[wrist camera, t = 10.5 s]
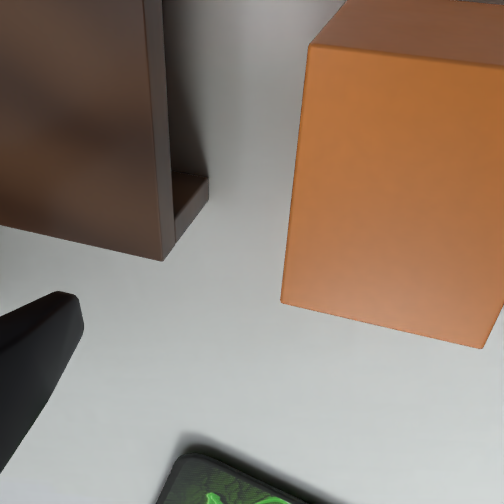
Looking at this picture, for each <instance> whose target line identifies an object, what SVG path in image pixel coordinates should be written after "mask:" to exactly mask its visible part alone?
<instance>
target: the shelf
mask: <svg viewBox="0 0 504 504" xmlns="http://www.w3.org/2000/svg"><path fill="white" fill-rule="evenodd" d="M208 200H209V190H208V178H207V177H202V176H197V175H191V174H186V173H180V172H175V171H171V160H170V142H169V125H168V107H167V89H166V71H165V53H164V35H163V17H162V0H0V225H2V226H7V227H11V228H16V229H20V230H24V231H29V232H33V233H38V234H42V235H47V236H51V237H55V238H60V239H64V240H69V241H73V242H78V243H82V244H86V245H91V246H95V247H100V248H104V249H109V250H113V251H117V252H122V253H126V254H131V255H135V256H140V257H144V258H148V259H153V260H157V261H164V259H165V258H166V257H167V255H168V254H169V253H170V251H171V250H172V249H173V247H174V246H175V244H176V243H177V241H178V240H179V239H180V237H181V236H182V235H183V233H184V232H185V231H186V229H187V228H188V227H189V225H190V224H191V223H192V221H193V220H194V219H195V217H196V216H197V215H198V213H199V212H200V211H201V209H202V208H203V207H204V205H205V204H206V203H207V201H208Z"/></svg>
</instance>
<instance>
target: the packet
mask: <svg viewBox="0 0 504 504" xmlns="http://www.w3.org/2000/svg"><path fill="white" fill-rule="evenodd" d="M280 301H281V303H283V304H287V305H292V306H296V307H300V308H305V309H309V310H313V311H318V312H322V313H326V314H331V315H335V316H339V317H344V318H348V319H352V320H357V321H361V322H365V323H369V324H374V325H378V326H382V327H387V328H391V329H395V330H400V331H404V332H408V333H413V334H417V335H421V336H426V337H430V338H434V339H439V340H443V341H447V342H452V343H456V344H460V345H465V346H469V347H473V348H478V349H482V348H483V347H484V345H485V343H486V341H487V339H488V336H489V334H490V332H491V330H492V328H493V326H494V324H495V322H496V320H497V318H498V316H499V313H500V311H501V309H502V307H503V305H504V5H498V4H487V3H477V2H466V1H456V0H347V1H346V2H345V3H344V5H343V6H342V7H341V8H340V9H339V10H338V12H337V13H336V14H335V15H334V16H333V17H332V18H331V20H330V21H329V22H328V23H327V24H326V25H325V27H324V28H323V29H322V30H321V31H320V32H319V33H318V35H317V36H316V37H315V38H314V39H313V40H312V42H311V43H310V44H309V46H308V53H307V62H306V71H305V80H304V89H303V98H302V107H301V116H300V125H299V134H298V143H297V152H296V161H295V170H294V180H293V189H292V198H291V207H290V216H289V225H288V234H287V243H286V252H285V261H284V270H283V279H282V288H281V297H280Z"/></svg>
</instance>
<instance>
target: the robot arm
mask: <svg viewBox="0 0 504 504" xmlns="http://www.w3.org/2000/svg"><path fill="white" fill-rule="evenodd" d="M83 331H84V322H83V317H82V312H81V308H80V303H79V299H78V298H77V297H76V295H74V294H70V293H65V292H61V291H55V292H52V293H50V294H48V295H46V296H44V297H42V298H39V299H37V300H35V301H33V302H31V303H29V304H27V305H24V306H22V307H20V308H18V309H16V310H14V311H11V312H9V313H7V314H5V315H3V316H1V317H0V473H1V472H2V470H3V469H4V467H5V466H6V464H7V463H8V461H9V460H10V458H11V457H12V455H13V454H14V452H15V451H16V449H17V448H18V446H19V445H20V443H21V442H22V440H23V439H24V437H25V435H26V434H27V432H28V431H29V429H30V428H31V426H32V425H33V423H34V422H35V420H36V419H37V417H38V416H39V414H40V413H41V411H42V410H43V408H44V406H45V405H46V403H47V402H48V400H49V398H50V396H51V394H52V393H53V391H54V389H55V387H56V385H57V383H58V381H59V379H60V377H61V375H62V374H63V372H64V370H65V368H66V366H67V364H68V362H69V360H70V358H71V356H72V354H73V352H74V351H75V349H76V347H77V345H78V343H79V341H80V339H81V337H82V334H83Z"/></svg>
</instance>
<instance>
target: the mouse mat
mask: <svg viewBox="0 0 504 504" xmlns="http://www.w3.org/2000/svg"><path fill="white" fill-rule="evenodd" d="M156 504H308V503H306V502H304V501H302V500H300V499H298V498H296V497H294V496H292V495H289V494H287V493H285V492H283V491H281V490H279V489H277V488H274V487H272V486H270V485H268V484H266V483H264V482H262V481H259V480H257V479H255V478H253V477H251V476H249V475H247V474H245V473H243V472H241V471H239V470H236V469H234V468H232V467H230V466H228V465H226V464H224V463H222V462H220V461H217V460H215V459H213V458H211V457H208V456H206V455H203V454H195V453H189V454H185V455H182V456H180V457H179V458H178V459H177V460H176V461H175V463H174V465H173V467H172V470H171V473H170V474H169V476H168V478H167V481H166V483H165V486H164V487H163V490H162V491H161V494H160V496H159V498H158V500H157V502H156Z"/></svg>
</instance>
